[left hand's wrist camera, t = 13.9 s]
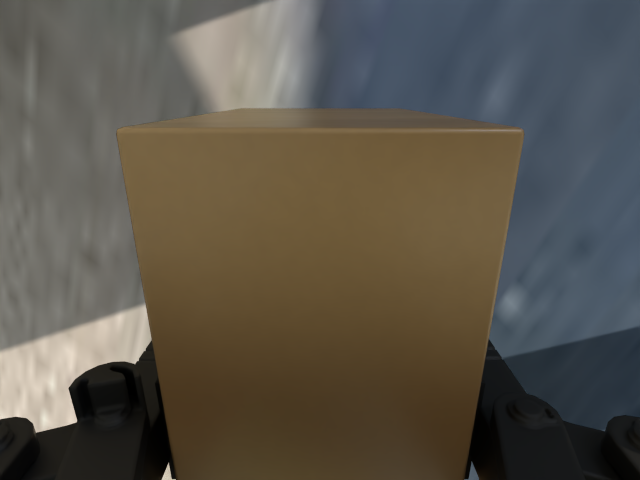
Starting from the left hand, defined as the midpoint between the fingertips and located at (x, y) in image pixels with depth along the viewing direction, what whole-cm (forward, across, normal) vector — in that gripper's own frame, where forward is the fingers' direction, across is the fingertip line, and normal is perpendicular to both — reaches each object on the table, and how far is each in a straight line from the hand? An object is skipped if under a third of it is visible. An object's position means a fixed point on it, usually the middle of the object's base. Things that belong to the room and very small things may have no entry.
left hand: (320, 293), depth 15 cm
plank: (0, 0, -26) cm, 26 cm away
